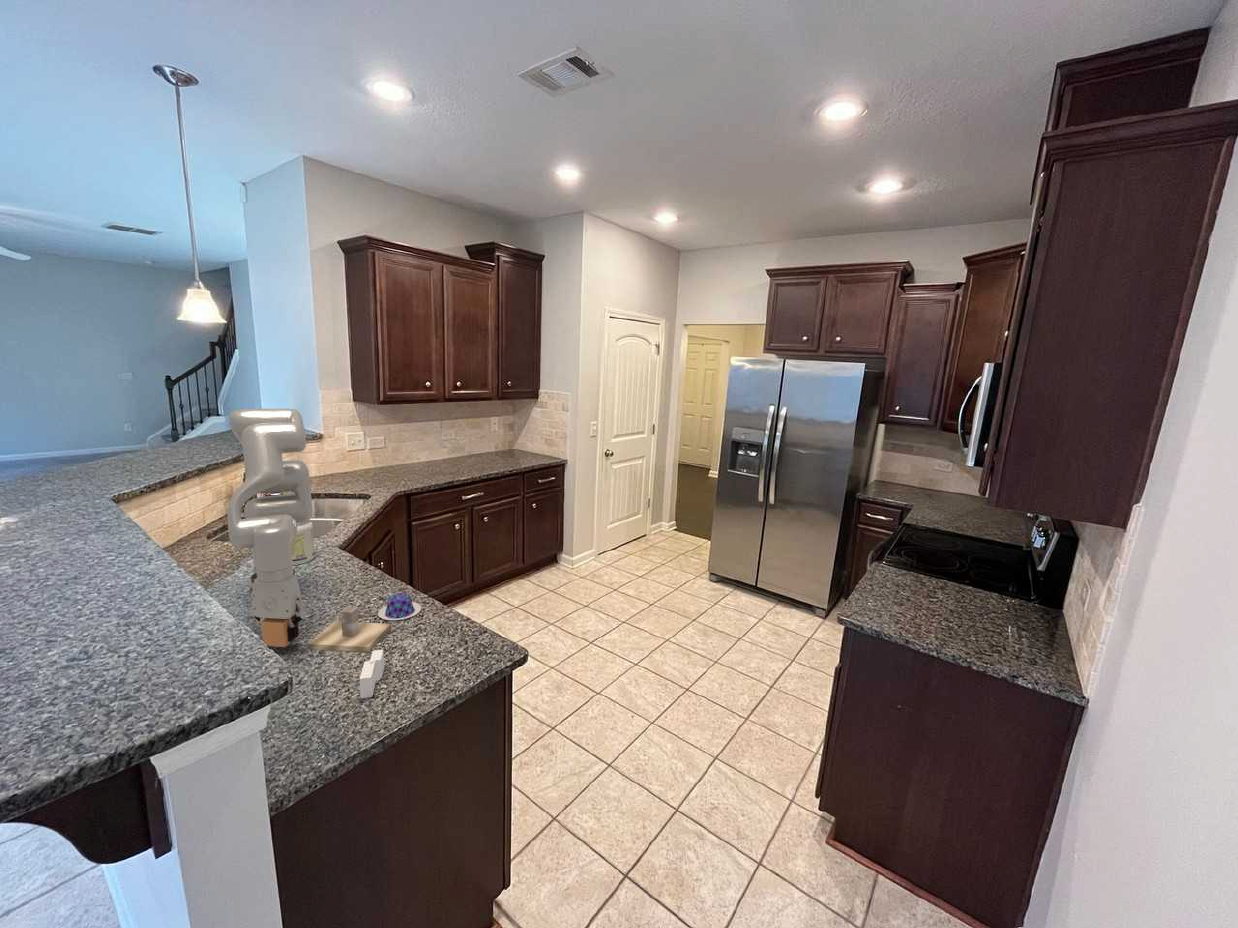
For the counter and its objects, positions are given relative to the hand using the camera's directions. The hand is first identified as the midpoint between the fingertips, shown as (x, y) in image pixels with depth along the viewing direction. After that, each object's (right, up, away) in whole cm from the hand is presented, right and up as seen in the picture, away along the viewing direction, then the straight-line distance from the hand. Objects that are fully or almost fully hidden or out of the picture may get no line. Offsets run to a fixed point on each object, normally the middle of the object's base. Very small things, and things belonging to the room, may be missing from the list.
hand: (281, 637), depth 130 cm
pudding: (+21, 0, +22) cm, 31 cm away
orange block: (0, -1, 0) cm, 1 cm away
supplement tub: (-33, +9, +58) cm, 67 cm away
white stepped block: (+29, -7, -11) cm, 32 cm away
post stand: (+14, -3, +7) cm, 16 cm away
